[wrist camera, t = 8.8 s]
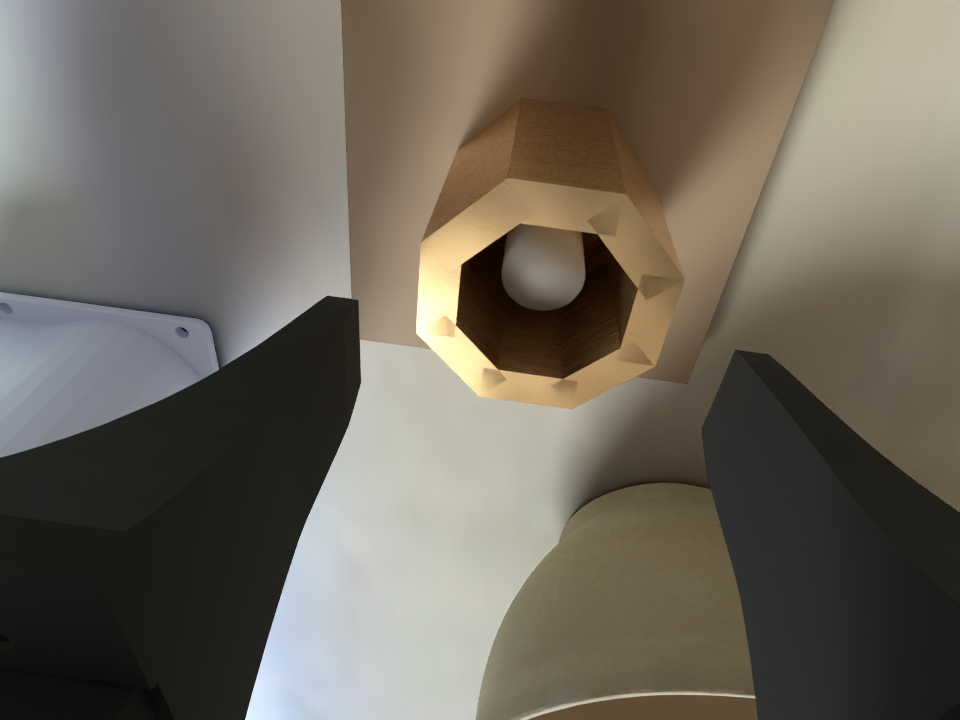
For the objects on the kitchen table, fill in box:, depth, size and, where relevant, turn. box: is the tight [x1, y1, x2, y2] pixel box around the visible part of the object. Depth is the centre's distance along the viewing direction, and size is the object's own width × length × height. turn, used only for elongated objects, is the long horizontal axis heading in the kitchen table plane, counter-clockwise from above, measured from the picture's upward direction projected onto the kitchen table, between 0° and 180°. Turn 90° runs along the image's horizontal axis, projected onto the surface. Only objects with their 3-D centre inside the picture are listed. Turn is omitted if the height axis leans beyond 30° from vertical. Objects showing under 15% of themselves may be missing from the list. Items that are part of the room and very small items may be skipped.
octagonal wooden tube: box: [416, 98, 685, 409], centre depth 16 cm, size 6×6×6 cm
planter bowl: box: [476, 483, 758, 720], centre depth 26 cm, size 16×16×11 cm
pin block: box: [341, 0, 834, 384], centre depth 17 cm, size 12×12×6 cm
